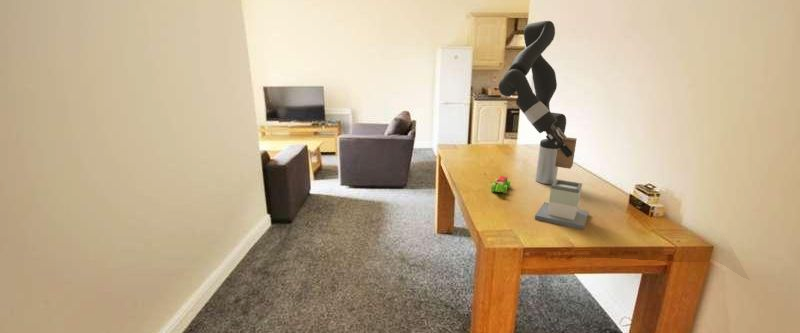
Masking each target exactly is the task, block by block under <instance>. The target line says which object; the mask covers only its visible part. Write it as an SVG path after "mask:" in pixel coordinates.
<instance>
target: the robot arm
mask: <svg viewBox="0 0 800 333" xmlns="http://www.w3.org/2000/svg"><path fill="white" fill-rule="evenodd" d="M555 35H556V27H555V24H554V22H553V21H551V20H543V21H536V22H531V23H528V24H526V25H525V27H524V30H523V37H524V44H525V48H524V49H522V50H521V51H520V52H519V53H518V54H517V55H516V56H515V58H514V59H513V61H512V63H511V65H510V67H509V69H508V70H507V72H506V73H505V74H504V75H503V76H502V78H501V79H500V81H499V83H498V91H499V92H500V94H501V95H502V96H505V97H510V96H513V95H514V94H515V93H516V94H517V98H516V100H515V104H516V106H517V107H518V109H519V110H520V111H521V112H522V113H523V115H524V116H525V117H526V119H527V120H528V122H530V124H531V126H533V127H534V129H535V130H536V131H537V132H538V133H539V134H541V133H543V132H545V133H546V136H545V137H546V138H544V139H541V140H540V142H539V149H538V150H539V151H538V159H537V165H536V174H535V182H537V183H540V184H545V185H552V184H553V182H554V181H555V180H556V179H557V177H558V169H559V167H555V163H556V156H557V149H560V150H561V151H562V152H563V153H564V154H565V156H566V157H569V156H571V155H572V154H573V153H572V152H571V151H570V149H569V148H568V147H567V146H566V144H565V143H564V142H563V141H562V139H563V138H562V137H567V135H565V132H566V126H567V117H566V115H565V114H564V113H558V112H552V111H551V109H550V103H551V100H552V98H553V96H554V94H555V92H556V91H557V86H558V83H557V76H556V71H555V69H554V68H553V67H552V66H551V64H550V63H549V62H548V61H547V60H546V59H545V58H544V57H543V55H542V54H543V53H544V52H545V50H547V48H548V47H549V46H550V45H551V44H552V42H553V41H554V38H555ZM530 71H531V73H532V82H533V88H534V91H535V92H534V91H533V89H532V87H531V84H530V82H529V80H528V78H527V77H526V76H527V75H528V74H529V72H530ZM558 142H559V144H558Z"/></svg>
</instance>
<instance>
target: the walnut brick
mask: <svg viewBox="0 0 800 333" xmlns="http://www.w3.org/2000/svg"><path fill="white" fill-rule="evenodd" d="M562 138H563V139H562V141H563V142H564V143H565V144H566V146H567V147H568V148H569V149H570V151H571V152H572V153H573V154H572V155H571V156H569V157H566V156H565V154H564V153H563V152H562V151H561V150H560V149H557V156H556V163H555V167H558V168H562V169H572V167H573V165H574V157H575V152H576V146H577V145H576V144H577V137H576V138H574V137H567V136H566V137H562ZM558 144H559V142H558Z"/></svg>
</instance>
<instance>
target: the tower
mask: <svg viewBox="0 0 800 333" xmlns="http://www.w3.org/2000/svg"><path fill="white" fill-rule="evenodd" d="M550 185H551V186H550V193H549V200H548V202H546V201H544V202H543V203H542V205H541V206H540V208H539V209H538V211H537V212H536V213H535V215H534V220H537V221H541V222H546V223H551V224H555V225H560V226H564V227H568V228H573V229H577V230H582V231H584V229H585V226H586V222H587V219H588V217H589V213H590V211H589V210H586V209H580V208H579V206H580V199H581V193H582V187H583V183H581V182H575V181H570V180H564V179H557V178H556V180H555V181H554V182H553V184H550Z"/></svg>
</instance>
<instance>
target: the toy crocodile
mask: <svg viewBox="0 0 800 333" xmlns="http://www.w3.org/2000/svg"><path fill="white" fill-rule="evenodd" d="M510 186H511V180H510V179H508V176H502V175H500V176H499V177H498V178H495V181H494V182H492V184H491V192H494V193H497V192H498V193H502V194H507V192H508V189H510Z"/></svg>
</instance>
